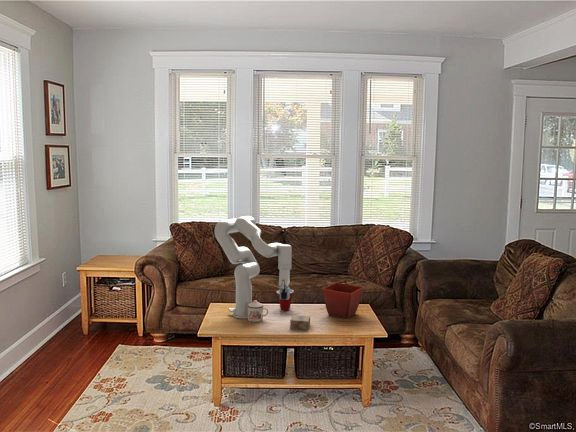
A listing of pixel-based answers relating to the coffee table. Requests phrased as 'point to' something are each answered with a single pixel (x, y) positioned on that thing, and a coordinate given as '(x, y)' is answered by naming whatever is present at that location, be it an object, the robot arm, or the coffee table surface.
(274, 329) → the coffee table surface
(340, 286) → the plant pot
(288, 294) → the slate block
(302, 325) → the walnut plinth
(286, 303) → the plastic cup
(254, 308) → the teacup with lid
